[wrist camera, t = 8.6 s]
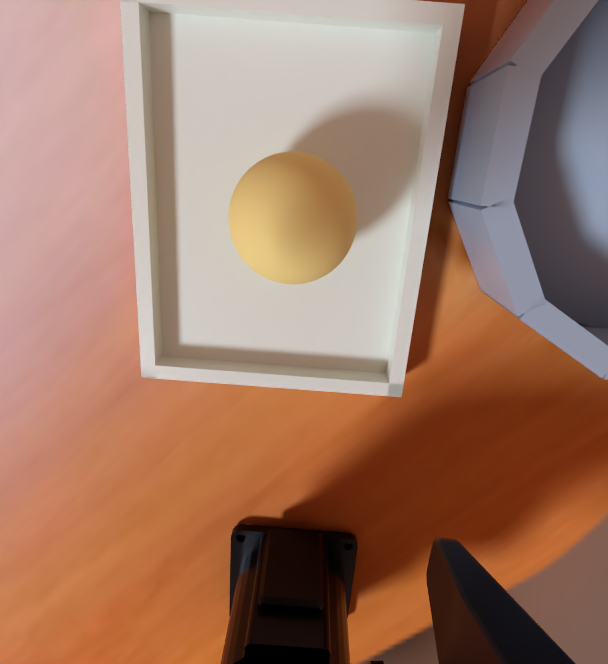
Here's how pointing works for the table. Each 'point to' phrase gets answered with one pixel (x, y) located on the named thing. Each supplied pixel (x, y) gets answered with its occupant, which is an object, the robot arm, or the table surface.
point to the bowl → (541, 175)
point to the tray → (271, 138)
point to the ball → (292, 217)
